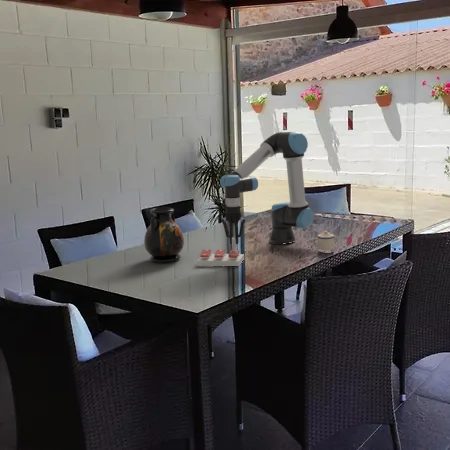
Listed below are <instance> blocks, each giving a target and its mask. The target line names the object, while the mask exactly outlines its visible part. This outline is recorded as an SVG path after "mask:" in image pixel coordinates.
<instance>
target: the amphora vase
mask: <svg viewBox="0 0 450 450" xmlns="http://www.w3.org/2000/svg"><path fill="white" fill-rule="evenodd" d="M174 211H175V209H174V208H172V207H166V206H165V207H156V208H151V209H150V210H149V212H150V214H152V215H153V216H152V217H151V219H150V225H149V226H148V227H147V229H146V231H145V235H144V238H143V239H144V240H143V242H144V243H143V244H144V248H145V251H146V252H147V253H148V254H149V255H150V257H149V260H150V261H151V262H153V263H154V262H155V264H171V263H175V262H177V261H180V259H181V254H179V253H181V252H182V250H183V248H184V245H185V237H184V233H183V231H182V229H181V227H180V226H179V225H178V224H177V223H176V219H175V215H174Z"/></svg>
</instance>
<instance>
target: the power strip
mask: <svg viewBox="0 0 450 450" xmlns="http://www.w3.org/2000/svg"><path fill="white" fill-rule="evenodd" d="M214 255H215V253H211V254H210V257H209V258H202V257H200V256H199V258H197V260H196V264H197V265H196V266H197V267H213V266H223V267H224V266H239V265H240V264H241V263H243V262H244V261H245V253H243V254H242V253H239V254H238V258H229V257H228V255H229V253H225V254H224V257H223V258H214ZM243 260H244V261H243ZM242 261H243V262H242ZM241 265H242V264H241ZM241 265H240V266H241ZM240 266H239V267H240ZM223 267H222V268H223Z"/></svg>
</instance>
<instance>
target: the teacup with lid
mask: <svg viewBox="0 0 450 450" xmlns="http://www.w3.org/2000/svg"><path fill="white" fill-rule="evenodd" d="M316 240H317V243H316ZM312 243H313V245H314V247H317V250H318V249H321V250H331V249H334V250H335V235H334V233H333V234H332V233H330V232H329V231H328V230H324V231H323V232H321V233H319V234H318V235H317V237H315V238H313V240H312Z"/></svg>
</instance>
